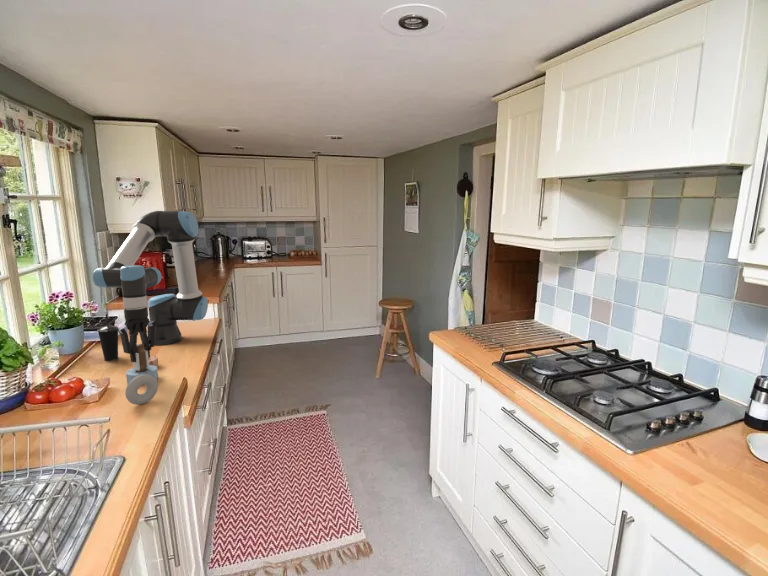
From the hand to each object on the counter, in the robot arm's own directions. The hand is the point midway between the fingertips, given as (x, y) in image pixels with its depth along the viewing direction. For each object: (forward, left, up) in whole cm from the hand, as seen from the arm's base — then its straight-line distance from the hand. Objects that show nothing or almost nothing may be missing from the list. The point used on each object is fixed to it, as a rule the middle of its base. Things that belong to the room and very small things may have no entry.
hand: (141, 368), depth 150 cm
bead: (-9, -11, -5) cm, 15 cm away
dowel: (0, 0, -5) cm, 5 cm away
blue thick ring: (0, 0, -5) cm, 5 cm away
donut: (+12, +19, -5) cm, 23 cm away
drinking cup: (-8, -34, -5) cm, 36 cm away
